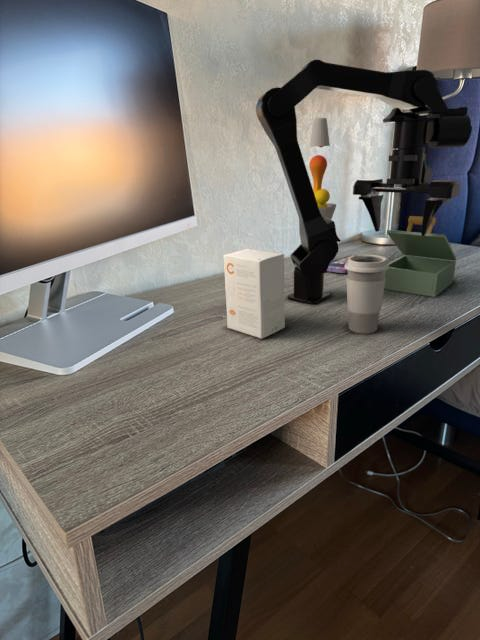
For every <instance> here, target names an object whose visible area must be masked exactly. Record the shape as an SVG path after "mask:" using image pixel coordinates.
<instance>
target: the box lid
mask: <svg viewBox="0 0 480 640" xmlns="http://www.w3.org/2000/svg"><path fill="white" fill-rule="evenodd" d="M422 221H423V216H417V215H410V216H409V217H408V219H407V224H408V225H407V228H406V231H404V230H395V229H394V230H393V229H387V230H386V234H387V235H388V237H389V238H390V239H391V241H392V242H393V243H394V245H395V246H396V247H397V249H398V250H399V251H400V253H401V254H402V256H403V255H406V256H414V257H423V258H432V259H441V260H450V261H456V262H457V257H456V254H455V252H454V250H453V248H452V246H451V244H450V242H449V240H448V238H447V235H446V234H441V233H432V231H433V228H434V227H435V225H436V222H437V218H436V217H435V216H434V218H433V220H432V222H431V224H430V226H429V228H428V230H427V232H426V234H425V235H424V236H422V235H421V232H418V231H412V229H413V226H414V225H417V226H422Z"/></svg>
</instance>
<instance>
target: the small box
mask: <svg viewBox="0 0 480 640" xmlns="http://www.w3.org/2000/svg"><path fill="white" fill-rule="evenodd" d="M223 267H224V287H225V290H224V291H225V305H226V308H225V309H226V324H227V325H226V327H227V328H228V329H230V330H233V331H236V332H239V333H243V334H245V335H249V336H252V337H255V338H258V339H264V338H267V337H268V336H271V335H273V334H275V333H277V332H279V331H281V330H283V329H284V328H285V327H286V309H285V307H286V304H285V303H286V302H285V301H286V300H285V299H286V298H285V295H286V294H285V293H286V292H285V254H284V253H280V252H273V251H266V250H259V249H255V248H254V249H253V248H246V249H242V250H238V251H234V252H230V253H226V254H223Z"/></svg>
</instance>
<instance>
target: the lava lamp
mask: <svg viewBox="0 0 480 640" xmlns="http://www.w3.org/2000/svg"><path fill="white" fill-rule="evenodd" d="M310 133H311V134H310V138H309V139H310V140H309V148H311V147H318V148H324V147H330V146H331V143H330V135H329V127H328V119H327V117H316V118H315V117H314V119H313V121H312V126H311V132H310ZM308 166H309V171H310V174H311V177H312V182H313V183H312V184H313V185H312V188H313V191H314V195H315V198H316V201H317V204H318V207H319V210H320V213H321V215H322V217H323V218H324V217H326V218H328V219H330V220H333V216H334V213H335V211H336V208H337V204H336V203H331V202H329V200H330V199H331V198H330V197H331V194H330V192H329V190H328V189H326V188H322V185H323V179H324V176H325V173H326V170H327V167H328V161H327V158H326V157H325V156H323V155H320V154H316V155H314V156H313V157H312V158H311V159H310V160H309V163H308ZM331 262H334V259H333V260H332V261H330V263H331Z"/></svg>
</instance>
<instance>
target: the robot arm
mask: <svg viewBox="0 0 480 640" xmlns="http://www.w3.org/2000/svg"><path fill="white" fill-rule="evenodd" d="M315 89H318V90H324V91H331V92H337V93H343V94H351V95H357V96H362V97H363V96H364V97H369V98H375V99H377V100H379V101H381V102H383V103H385V104H386V105H389V106H391V107H394V108H392V109H391V111H390V113H388V115H386V116H385V117H384V118H383V119H382V123H384V124H393V133H392V134H393V135H392V144H391V146H392V147H391V154H389V155H388V162H390V169H389V178H386V182H384V180H383V178H361V179H356V181H355V182H354V184H353V186H352V195H354V196H358V200H361V201H362V202H363V204H364V206H365V208H366V210H367V212H368V214H369V217H370V220H371V223H372V225H373V229H374V231H375V232H377V233H378V232H380V230H381V220H382V219H381V218H382V202H383V198H384V194H380V193H397V194H399V193H400V194H427V195H428V196H429V197H430V198H428V199H427V198H426V199H425V201H424V206H423V214H422V217H423V221H422V225H421V227H420V229H421V232H420V233H421V235H422V236H424V235H425V234H426V233H427V230H428V228H429V226H430V224H431V222H432V220H433V218H434V217H435V216H436V214H437V213H438V211H439V210H440V208H441V207H442V205H443V204H445V203H448V202H450V201H451V200H452V199H453V198H456V197H459V196H460V192H461V183H460V181H459V180H457V179H435V180H431V178H432V173H433V170H432V168H431V167H430V166H429V165H428V164H427V162H426V161H427V153H425V150H426V143H427V146H428V147H429V148H430V149H443V148H444V149H445V148H446V149H447V148H463V147H465V146H466V144H467V143H469V141H470V138H471V135H472V131H473V126H472V122H471V121H472V120H471V118H470V116H469V114H468V109H469V108H468V107H467V106H460V107H459V106H458V107H454V108H448V106H447V104H446V102H445V99H444V98H443V97H442V95H441V92H440V91H439V89H438V83H437V79H436V76H435V74H434V72H432V71H431V70H428V69H410V70H398V71H388V72H386V71H380V70H375V69H368V68H362V67H355V66H349V65H343V64H337V63H331V62H326V61H323V60H321V59H313V60H311V61H309V62H308V63H307V64H305V65H304V66H303V67H302V69H301V70H300V71H299V72H298V73H297V74H295V75H294V76H293V77H292V78H291V79H290V80H288V81H287V82H286V83H284V84H283V85H282V86H281V87H278V86H277V87H272V88H270V89H268V90H267V91H265V92H264V93H263V94H262V95H261V96H260V97H259V98H258V100H257V103H256V106H255V115H256V117H257V119H258V121H259V123H260V125H261V127H262V129H263V130H264V133H265V134H266V136H267V137H268V139H269V141H270V142H271V143H272V145H273V146H274V149H275V151H276V153H277V157H278V159H279V163H280V165H281V169H282V173H283V175H284V179H285V181H286V184H287V187H288V190H289V192H290V196H291V199H292V202H293V204H294V208H295V210H296V214H297V217H298V225H299V226H298V228H299V239H300V245H298V246H297V247H296V249H294V251H292V252H291V254H290V258H291V259H290V260H291V261H292V264H293V265H295V266H296V267H294V269H293V293H291V294H289V295H287V297H286V298H287V299H288V300H292V301H297V302H301V303H306V304H311V305H316V304H318V303H319V302H321V301H323V300H325V299H328V298H329V297H330V293H329V292H324V281H325V280H324V278H325V277H324V276H325V274H326V273H327V272H328V271H327V269H328V266H329V264H330V261H332V260H333V261H334V259H335V258H336V257H337V255H338V253H339V249H340V248H339V243H340V242H341V239H340V238H339V237H338V234H337V228H336V223H335V221H334V220H333V219H331V220H330V219H328V218H326V217H324V218H323V217H322V215H321V213H320V210H319V207H318V204H317V201H316V198H315V195H314V191H313V185H312V182H311V179H310V175H309V172H308V169H307V166H306V162H305V160H304V156H303V153H302V151H301V148H300V147H301V146H300V144H299V141H298V122H297V121H298V120H297V113H296V106H298V105H299V103H300V102H302V101H303V100H304V99H306V97H308V95H310V94H311V93H312V92H313V91H314V90H315ZM402 110H405V112H403V111H402ZM406 110H408V112H407V111H406ZM421 116H426V117H421ZM396 185H400V186H399V187H397V186H396Z"/></svg>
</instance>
